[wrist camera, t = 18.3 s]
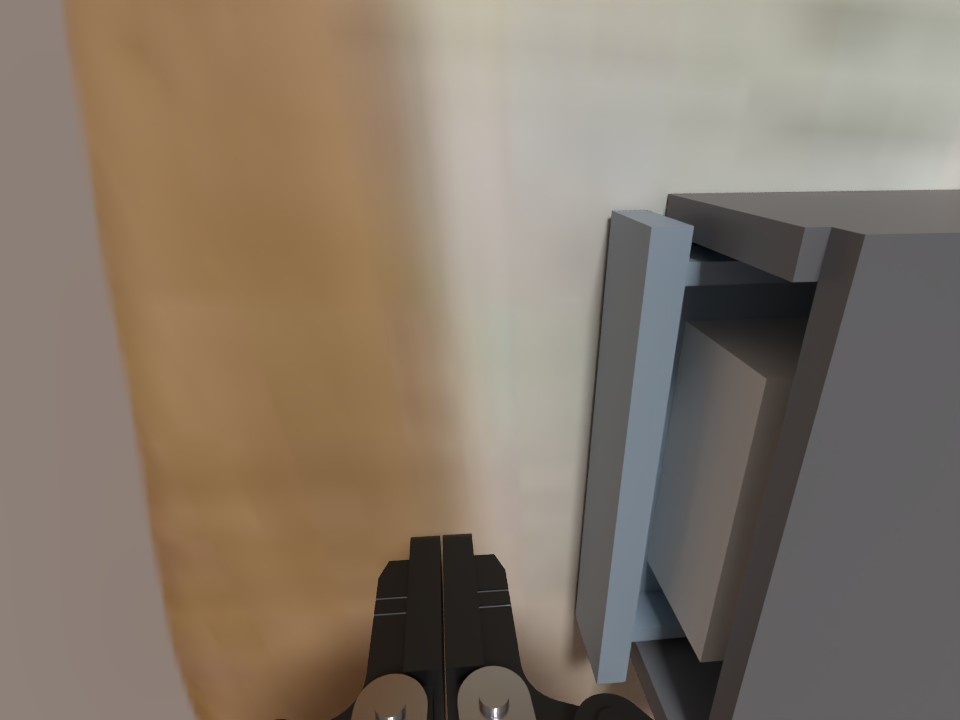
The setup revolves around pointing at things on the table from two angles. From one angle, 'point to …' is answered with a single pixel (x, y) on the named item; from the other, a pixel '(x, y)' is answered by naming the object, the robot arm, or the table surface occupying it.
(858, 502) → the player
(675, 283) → the tray
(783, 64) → the table surface
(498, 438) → the table surface
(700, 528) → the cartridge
